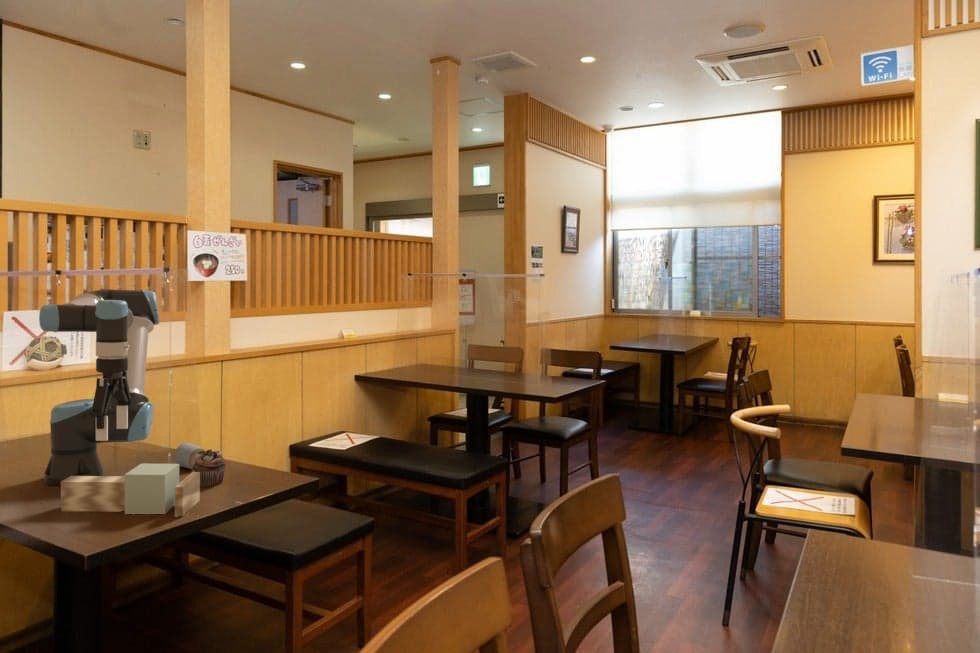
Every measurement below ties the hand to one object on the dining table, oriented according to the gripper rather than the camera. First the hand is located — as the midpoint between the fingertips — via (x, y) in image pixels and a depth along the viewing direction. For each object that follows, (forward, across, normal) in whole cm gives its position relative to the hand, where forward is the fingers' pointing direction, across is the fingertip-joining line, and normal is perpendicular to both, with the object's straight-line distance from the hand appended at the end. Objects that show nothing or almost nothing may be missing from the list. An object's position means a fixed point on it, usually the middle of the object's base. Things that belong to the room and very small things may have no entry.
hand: (112, 434), depth 181 cm
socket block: (+18, -7, -13) cm, 23 cm away
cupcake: (+19, +15, -21) cm, 32 cm away
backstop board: (+18, -7, -22) cm, 29 cm away
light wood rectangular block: (+19, -6, +1) cm, 20 cm away
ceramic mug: (+19, +32, -13) cm, 39 cm away
